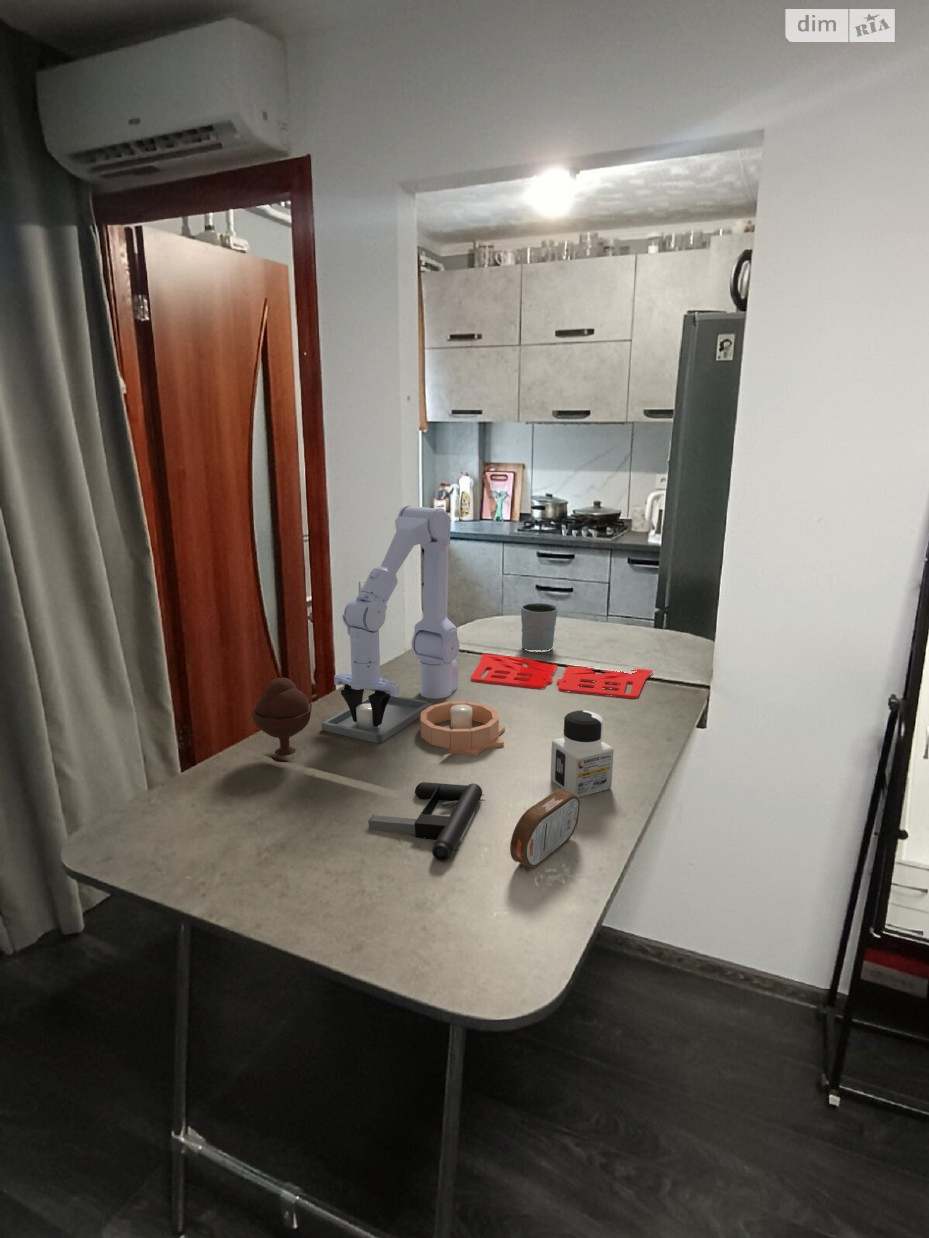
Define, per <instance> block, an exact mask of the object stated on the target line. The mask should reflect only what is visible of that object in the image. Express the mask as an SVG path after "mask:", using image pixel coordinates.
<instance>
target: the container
mask: <svg viewBox="0 0 929 1238" xmlns="http://www.w3.org/2000/svg"><path fill="white" fill-rule="evenodd" d="M603 730H604V719H603V717H602V716H601V715H600V714H598V713H595V712H593V711H590V710H581V709H580V710H575V711H570V712H568V713H566V715H565V716H564V718H563V737H561V738H555V739H552V741H551V750H550V752H551V753H550V754H551V755H550V756H551V757H550V780H551V781H552V782H553V783H554V784H556V785H557V786H558V787H560V789H565V790H566V791H568V792H570V793H572V794H574V795H576V796H577V797H578V798H579V799H580V798H581V797H586V796H589V795H588V794H590V795H593V794H596V792H597V793H599V792H598V791H600V792H603V791H602V790H604V791H607V790H606V789H608V788H610V789H611V788H612V783H613V782H612V780H613V766H614V765H613V764H614V751H615V750H614V747H612V746H611V745H609V744H607V743H606V742H604V741H603V734H604V731H603ZM608 790H609V789H608ZM585 795H586V796H585Z"/></svg>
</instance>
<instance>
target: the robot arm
mask: <svg viewBox="0 0 929 1238" xmlns="http://www.w3.org/2000/svg"><path fill="white" fill-rule="evenodd" d="M451 518H452V517H451V516H450V515H449V513H448V512H447V511H446V510H445V509H444V508H442V507H435V508H434V507H426V506H425V507H424V506H412V505H408V504H407V505H404V506H403V507H402V508H400V510H399V512H398V516H397V517H396V519H395V521H394V523H395V524H394V525H395V529H396V531H395V534H394V536H393V538H392V540H391V542H390V544H389V546H388V550H387V551H386V554H385V556H384V559H383V561H382V562H381V565H380V566H378V567H374V568H372V570H371V571H370V572H369V574H368V577H367V579H366V581H364V584H363V586H362V588H361V589H360V591H359V592H358V595H357V596H356V598H354V599H352V600H351V601H349V602H347V604H346V606H345V608H344V612H343V614H342V618H341V619H342V621H343V624H344V626H346V629H347V635H348V637H349V642H350V644H349V645H350V665H351V666H350V667H351V669H350V670H351V671H350V672H351V673H341V672H339V673H337V674H335V675H334V676H333V681H334V685H335V686H340V685H342V686H343V689H341V690H340V695H341V697H342V698H343V699H344V701H345V702H346V704H347V706H348V707H347V708H349V709H350V712H351V715H352V718H353V721H354V722H357V716H356V707H357V706H359V705H361V704H362V700H363V699H364V691H365V690H367V691H372V692H374V693H372V694H370V695H368V696H367V697H368V698H369V701H370V704H371V708H372V716H373V725H374V726H375V727H377V726H379V725H380V724H382V720H383V715H384V712H385V708H386V706H387V703H388V701H389V699H390V697H391V696H396V695H397V696H399V694H400V684H399V683H395V682H392V681H390V680H387V679H385V678H384V677H383V678H382V677H381V656H380V655H381V653H380V652H381V651H380V629H381V628H382V626H383V625H384V624H385V621H386V615H387V610H388V605H387V604H388V601H390V598H391V597H392V595H393V592H394V591H395V589H396V587H397V586H398V583H399V582H398V578H397V573H398V572H399V570H400V569H401V567H402V565H403V564H404V562H405V561H406V559H407V558H408V555H410V553H411V551H412V549H414V547H415V546H417V545H420V546H421V547H422V548H423V551H424V552H423V553H424V554H423V604H422V605H423V607H422V608H423V609H422V611H423V613H422V614H423V615H422V619H421V620H420V621H418V622H417V623H415V625H414V632H413V635H412V639H411V649H412V652H413V653H414V654H415V655H416V659H417V660H418V661H419V694H420V696H421V697H424V698H426V699H435V700H436V699H444V698H447V697H449V696H451V695H452V693H453V692H454V691H456V690H458V689H459V664H458V662H457V660H456V657H457V656H458V655H459V653H460V652H459V651H460V640H459V637H458V628H457V626H456V625H455V624H453V622H452V621H450V620H449V618H448V596H449V595H448V593H449V589H448V588H449V552H450V551H449V549H450V547H449V546H450V544H451V520H452V519H451Z"/></svg>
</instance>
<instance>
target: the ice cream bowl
mask: <svg viewBox="0 0 929 1238" xmlns="http://www.w3.org/2000/svg"><path fill="white" fill-rule="evenodd" d="M312 707H313V704H312V703H310V702H309V698H308V697H307V695H306V694H305V693H304V692H303V691H302V690H300V689H298V688H297V686H296V684H295V683H294V682H293V681H292V680H291V679H289V678H287V677H277V678H275V679H272V680H270V681H269V683H267V684H266V687H265V689H264V692H263V696H261V697H260V698H259V699H258V701H257V702H256V704H255V706H254V707H253V710H252V713H251V716H252V719H253V720H252V721H253V722H254V725H256V727H257V729H259V730H261V731H262V732H263V733H265V734H266V735H268V736H270V737H272V738H274V739H275V738H276V739H277V738H278V739H279V748H277V749H275V750H274V754H275V755H276V756H281V757H285V756H291V755H293V754H295V753H296V752H297V748H295V747H293V746H290V738H291V737H293V736H296V735H297V734H298V733H300V732H302V731H303V730H304V729H305V728H306V727H307V725H308V724H309V722H310V720H311V714H312V709H313V708H312ZM271 758H272V759H273V760H275V761H276V762H275V761H274V762H275V763H289V762H288V761H289V760H285V759H282V758H277V757H273V756H271V757H270V759H271ZM272 759H271V760H272ZM273 760H272V761H273Z"/></svg>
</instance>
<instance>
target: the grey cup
mask: <svg viewBox="0 0 929 1238" xmlns="http://www.w3.org/2000/svg"><path fill="white" fill-rule="evenodd" d="M558 609H559V608H558V607H557V606H555V605H553V604H550V603H542V602H531V603H530V602H529V603H526V604H525V603H524V604H522V605H521V608H520V611H521V612H520V613H521V614H520V615H521V648H522V647H523V648H524V649H527V650H541V651H542V650H549V649H551V648H552V647H553V648H554V641H555V639H554V637H555V631H556V630H555V628H556V625H557V616H558ZM553 648H552V649H553Z"/></svg>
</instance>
